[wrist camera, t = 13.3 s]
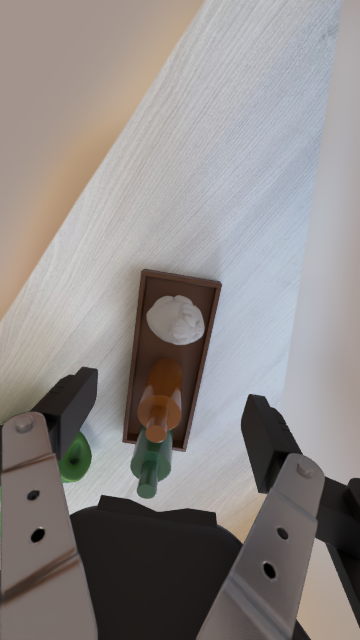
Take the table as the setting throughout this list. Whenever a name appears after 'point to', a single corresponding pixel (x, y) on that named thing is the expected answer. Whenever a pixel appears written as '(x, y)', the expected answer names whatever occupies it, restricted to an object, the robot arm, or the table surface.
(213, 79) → the table surface
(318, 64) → the table surface
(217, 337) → the table surface
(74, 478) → the piggy bank
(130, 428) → the tray
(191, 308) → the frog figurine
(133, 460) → the green bottle
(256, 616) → the robot arm
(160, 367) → the amber bottle
